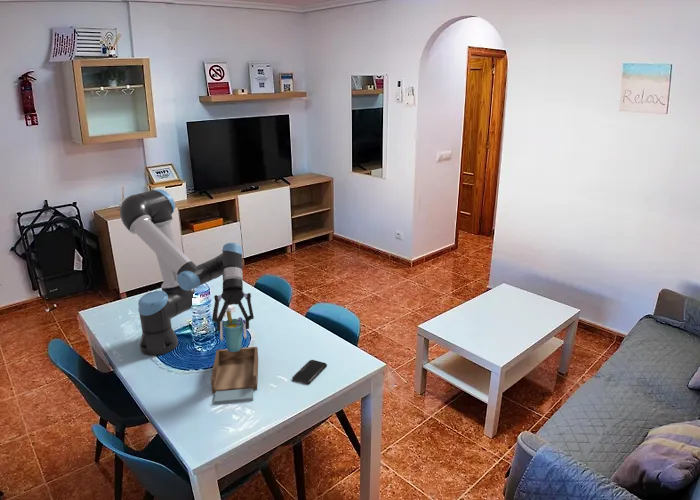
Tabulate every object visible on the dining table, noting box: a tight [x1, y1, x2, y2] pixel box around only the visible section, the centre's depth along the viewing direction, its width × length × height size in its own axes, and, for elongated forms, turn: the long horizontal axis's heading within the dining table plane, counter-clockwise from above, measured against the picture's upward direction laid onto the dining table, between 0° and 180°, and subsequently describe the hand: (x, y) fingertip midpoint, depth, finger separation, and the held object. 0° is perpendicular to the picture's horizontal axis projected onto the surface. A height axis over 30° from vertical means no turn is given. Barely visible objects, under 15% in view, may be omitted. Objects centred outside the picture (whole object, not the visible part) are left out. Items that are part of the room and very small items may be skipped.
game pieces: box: [217, 304, 236, 318], centre depth 244 cm, size 12×3×3 cm, turn 153°
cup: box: [223, 310, 246, 352], centre depth 189 cm, size 14×8×15 cm, turn 46°
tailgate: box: [213, 388, 255, 405], centre depth 182 cm, size 13×1×6 cm
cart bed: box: [210, 346, 259, 394], centre depth 195 cm, size 16×21×6 cm
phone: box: [291, 359, 328, 385], centre depth 197 cm, size 8×1×15 cm
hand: (233, 338), depth 186 cm, fingers closed on cup, 8 cm apart
